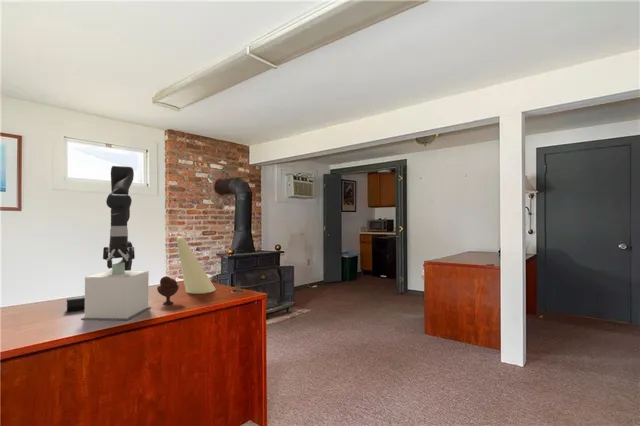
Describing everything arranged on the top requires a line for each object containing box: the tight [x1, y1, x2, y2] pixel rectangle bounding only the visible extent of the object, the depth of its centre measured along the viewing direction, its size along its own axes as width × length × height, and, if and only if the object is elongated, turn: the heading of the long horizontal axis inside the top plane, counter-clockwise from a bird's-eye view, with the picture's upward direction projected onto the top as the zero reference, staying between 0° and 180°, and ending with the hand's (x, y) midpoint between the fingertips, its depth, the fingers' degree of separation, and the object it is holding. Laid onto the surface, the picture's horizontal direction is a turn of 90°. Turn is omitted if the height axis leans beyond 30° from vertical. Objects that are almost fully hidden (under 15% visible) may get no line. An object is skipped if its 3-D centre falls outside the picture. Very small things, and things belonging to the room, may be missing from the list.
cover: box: [84, 262, 150, 319], centre depth 172 cm, size 20×20×24 cm
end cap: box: [66, 295, 85, 313], centre depth 177 cm, size 10×7×7 cm
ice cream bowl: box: [157, 276, 180, 306], centre depth 191 cm, size 11×11×15 cm
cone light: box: [175, 236, 216, 295], centre depth 224 cm, size 25×18×35 cm
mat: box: [80, 306, 152, 322], centre depth 172 cm, size 22×22×1 cm
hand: (118, 268), depth 172 cm, fingers open, 8 cm apart
